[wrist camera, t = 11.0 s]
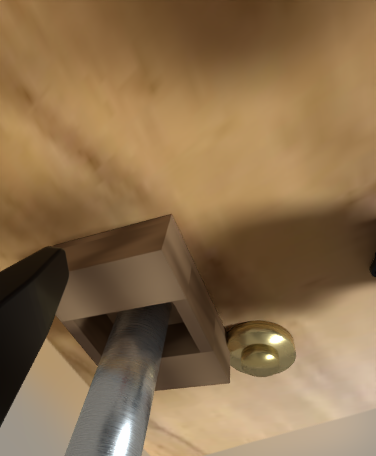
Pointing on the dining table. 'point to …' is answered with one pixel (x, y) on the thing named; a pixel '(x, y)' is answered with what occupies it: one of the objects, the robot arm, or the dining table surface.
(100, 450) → the pin
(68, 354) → the dining table surface
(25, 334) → the robot arm
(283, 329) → the brass domed disc
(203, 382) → the slot block
